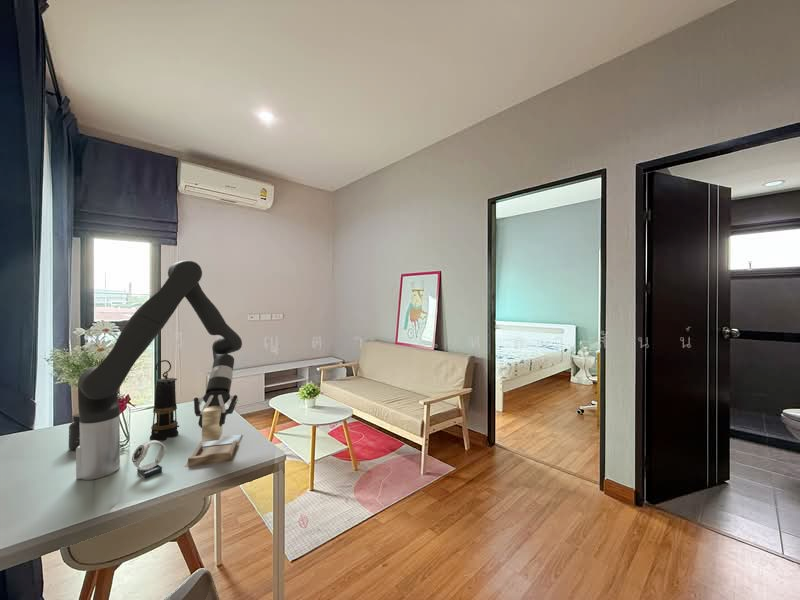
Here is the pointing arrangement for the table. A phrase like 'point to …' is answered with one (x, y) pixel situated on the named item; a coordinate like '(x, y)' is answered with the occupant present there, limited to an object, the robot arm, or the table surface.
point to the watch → (153, 467)
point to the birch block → (211, 423)
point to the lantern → (164, 408)
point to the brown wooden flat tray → (215, 451)
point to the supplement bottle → (74, 433)
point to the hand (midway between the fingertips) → (211, 426)
